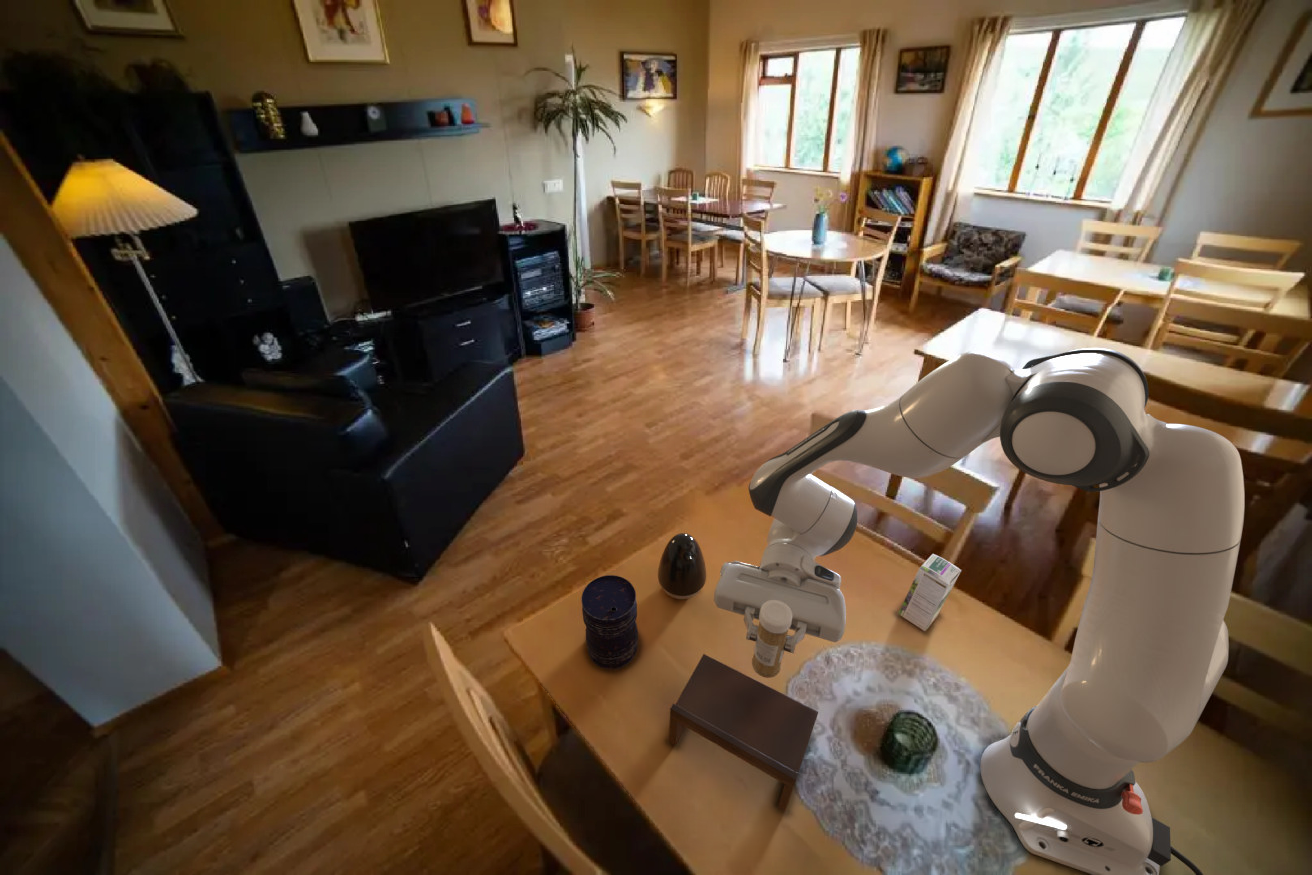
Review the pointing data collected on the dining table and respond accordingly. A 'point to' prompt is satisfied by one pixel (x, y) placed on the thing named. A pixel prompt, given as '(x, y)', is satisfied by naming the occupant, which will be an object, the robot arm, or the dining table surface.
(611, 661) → the storage jar
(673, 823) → the dining table surface
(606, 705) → the dining table surface
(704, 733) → the desk shelf
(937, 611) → the syrup box
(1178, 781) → the dining table surface
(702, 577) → the black egg-shaped piece
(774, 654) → the sprinkles bottle
